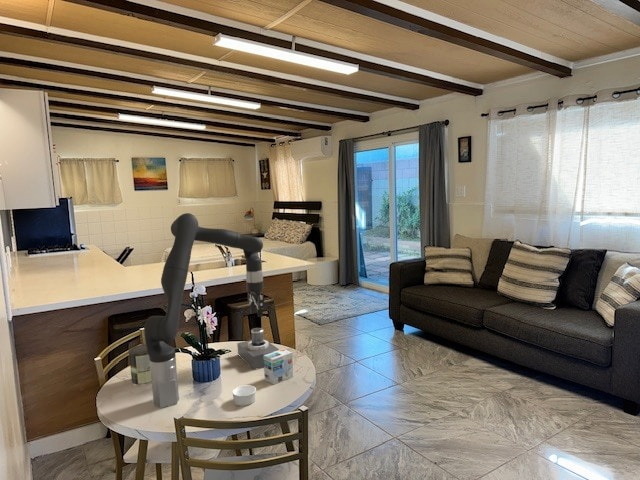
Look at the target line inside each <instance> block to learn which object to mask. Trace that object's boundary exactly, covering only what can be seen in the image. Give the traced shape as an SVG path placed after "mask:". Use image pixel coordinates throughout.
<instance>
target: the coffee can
mask: <svg viewBox="0 0 640 480" xmlns="http://www.w3.org/2000/svg"><path fill="white" fill-rule="evenodd" d="M128 355H129V366H130V375H131V384H132V386H135V387H142V386H143V387H144V386H147V385H152V381H151V370H150V359H149V355H148V353H147V348H146V343H145V344H140V345H136V346H133V347H131V348H130V349H129V350H128Z"/></svg>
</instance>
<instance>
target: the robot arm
mask: <svg viewBox="0 0 640 480" xmlns="http://www.w3.org/2000/svg"><path fill="white" fill-rule="evenodd" d="M170 232H171V235H173V237H174V241H173V245H172V247H171V249H170V252H169V253H168V255H167V258H166V261H165V263H164V266H163V270H162V274H161V278H160V279H161V280H160V284H161V287H162V290H163V293H164V295H165V297H166V301H167V308H166V314H165V315H152V316H149V317H148V318H147V319H146V321H145V323H144V328H143V329H144V330H143V331H144V334H143V335H144V339H145V340H144V341H145V344H146V348H147V353H148V355H149V359H150V370H151V381H152V383H151V389H152V390H151V391H152V401H153V405H154V406H155V407H159V408H160V409H162V408H166V407H169V406H173V405H177V404H178V401H179V400H180V396H179V395H180V393H179V381H178V370H177V356H176V349H175V348H174V347H173V346H171V345H169V344H167V343H166V342H172V341H174V340H175V338H176V337H177V335H178V331H179V326H180V325H179V324H180V317H181V309H182V301H183V296H184V291H185V287H186V282H187V279H188V278H187V277H188V273H189V267H190V263H191V255H192V250H193V247H194V246H193V245H194V242H195V241H197V242H203V243H204V242H205V243H210V244H216V245H221V246H225V247H229V248H234V249H240V250H243V255H244V259H245V268H246V269H245V270H246V274H245V275H246V276H245V277H246V279H245V280H246V291H247V302H248V305H250V313H251V314H254V313H256V312H257V313H256V314H257V317H258V318H262V317H263V316H264V315H263V309H265V307H266V306H265V295H264V294H262V293H261V292H262V291H263V290H264V274H263V267H262V265H263V264H262V259H261V258H260V256H259V253H260V252H261V251H262V249H263V247H264V243H263V241H262V239H260V238H259V237H257V236H254V235H253V236H252V235H249V234H244V233H240V232H237V231H233V230H229V229H224V228H210V227H203V226H199V221H198V219H197V217H196V216H195V215H194V214H193V213H190V212H189V213H187V212H186V213H183V214H181V215H179V216H178V217H177V218H176V219H175V220H174V221H173V222H172V223H171V225H170ZM256 310H257V311H256Z"/></svg>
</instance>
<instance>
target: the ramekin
mask: <svg viewBox="0 0 640 480" xmlns="http://www.w3.org/2000/svg"><path fill="white" fill-rule="evenodd" d="M231 393H232V398H233V403H234V404H235V405H236V406H238V407H246V406H249V405H252V404H254V402H256V394H257V388H256V386H253V385H251V384H250V385H249V384H245V385H243V384H242V385H239V386H237V387H236V386H235V388H234V389H233V390H232V391H231Z"/></svg>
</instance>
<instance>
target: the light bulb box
mask: <svg viewBox="0 0 640 480" xmlns="http://www.w3.org/2000/svg"><path fill="white" fill-rule="evenodd" d="M263 356H264V367H263V371H264V372H263V374H264V380H265V381H267V382H268V383H269V384H271V385H276V384H278V383H280V382H283V381H286V380H288V379H289V380H290V379H292V378H294V366H293V365H294V364H293V363H294V362H293V352H292V351H289V350H287V349H286V348H281V349H279V350H278V351H275V352H272V353H269V354H266V355H263Z"/></svg>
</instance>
